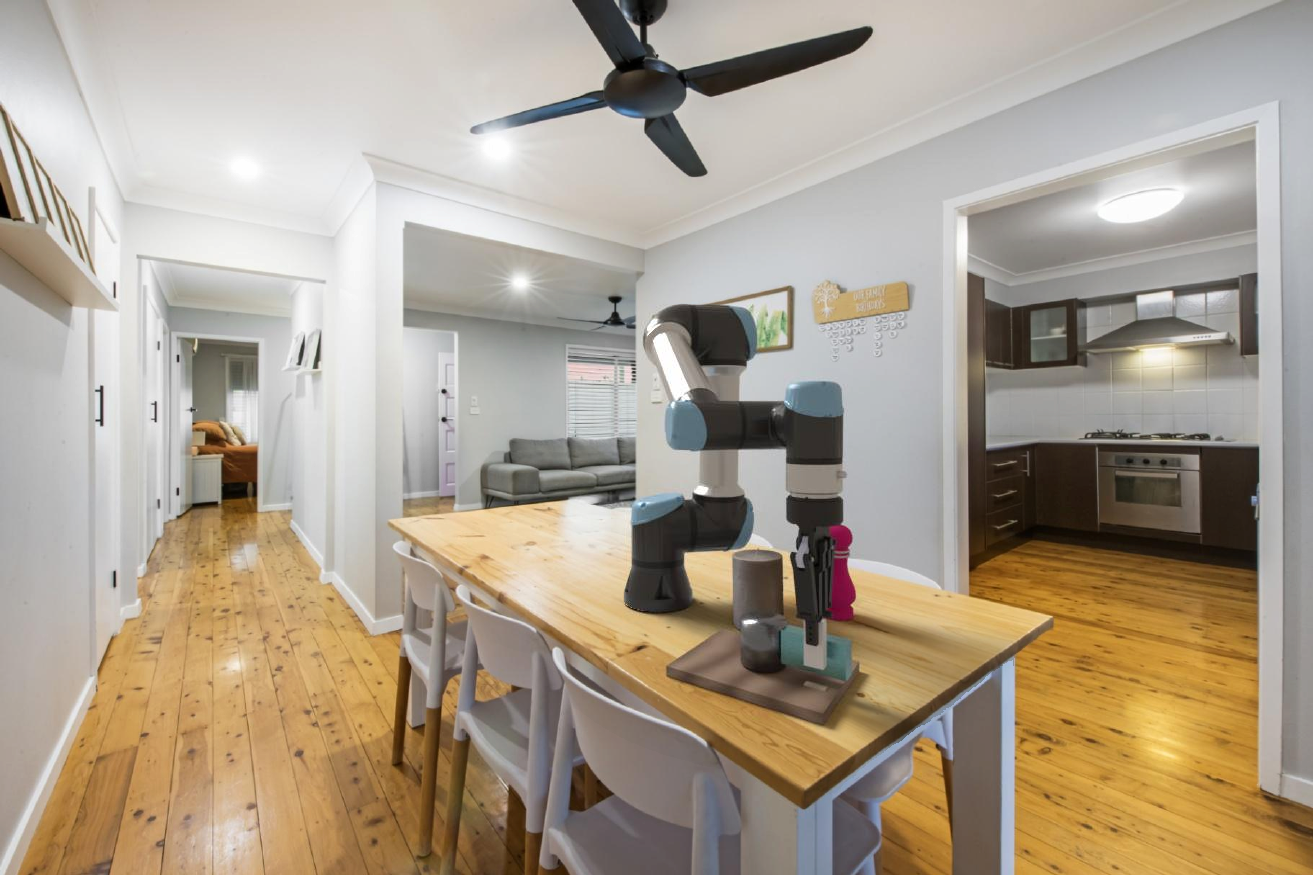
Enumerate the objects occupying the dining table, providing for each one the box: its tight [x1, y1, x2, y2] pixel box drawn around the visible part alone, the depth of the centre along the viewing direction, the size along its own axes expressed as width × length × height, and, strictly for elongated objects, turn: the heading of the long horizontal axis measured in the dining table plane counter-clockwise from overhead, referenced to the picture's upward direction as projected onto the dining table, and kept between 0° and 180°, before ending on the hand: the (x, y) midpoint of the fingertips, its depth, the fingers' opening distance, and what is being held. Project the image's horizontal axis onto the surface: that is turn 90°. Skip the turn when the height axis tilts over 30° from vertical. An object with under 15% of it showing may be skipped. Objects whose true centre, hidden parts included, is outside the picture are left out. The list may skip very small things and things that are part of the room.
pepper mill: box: [825, 524, 857, 622], centre depth 106 cm, size 7×7×20 cm
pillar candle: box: [731, 547, 785, 631], centre depth 101 cm, size 10×10×15 cm
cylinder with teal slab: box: [739, 611, 853, 682], centre depth 78 cm, size 7×16×7 cm, turn 52°
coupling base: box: [665, 629, 860, 726], centre depth 81 cm, size 24×18×2 cm
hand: (815, 665), depth 72 cm, fingers closed
